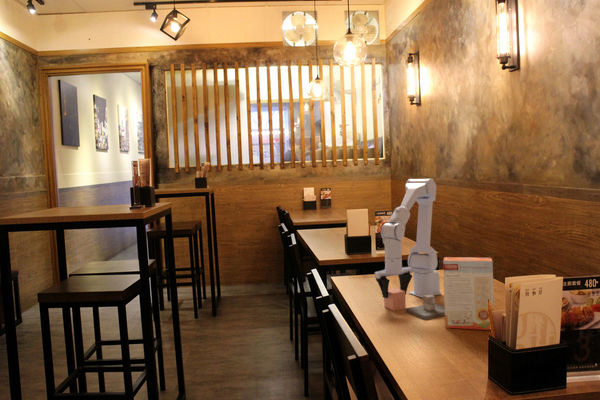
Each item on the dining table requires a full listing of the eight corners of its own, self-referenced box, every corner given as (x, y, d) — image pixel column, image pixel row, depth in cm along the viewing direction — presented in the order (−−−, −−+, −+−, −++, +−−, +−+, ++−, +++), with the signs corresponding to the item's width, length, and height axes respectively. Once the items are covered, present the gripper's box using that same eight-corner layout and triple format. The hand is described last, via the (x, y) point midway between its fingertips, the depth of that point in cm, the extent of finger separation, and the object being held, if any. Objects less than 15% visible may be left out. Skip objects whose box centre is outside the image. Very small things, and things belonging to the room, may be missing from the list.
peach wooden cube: (396, 304, 171) (396, 288, 171) (405, 308, 167) (405, 291, 166) (384, 306, 169) (383, 290, 169) (393, 310, 165) (392, 293, 164)
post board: (433, 306, 168) (433, 290, 167) (453, 313, 158) (453, 296, 158) (405, 311, 163) (405, 295, 162) (424, 319, 153) (424, 302, 153)
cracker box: (493, 324, 146) (492, 256, 145) (494, 331, 140) (493, 260, 139) (445, 321, 151) (443, 256, 149) (444, 328, 145) (443, 259, 144)
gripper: (403, 253, 173) (404, 290, 174) (369, 258, 167) (370, 296, 168) (415, 256, 167) (416, 294, 168) (380, 261, 161) (382, 301, 162)
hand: (394, 295), depth 168 cm, fingers open, 7 cm apart
